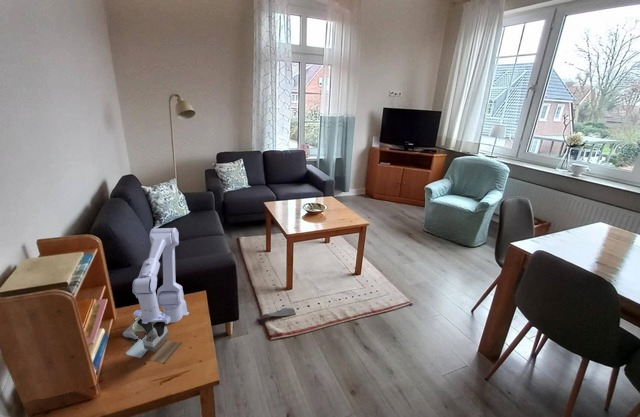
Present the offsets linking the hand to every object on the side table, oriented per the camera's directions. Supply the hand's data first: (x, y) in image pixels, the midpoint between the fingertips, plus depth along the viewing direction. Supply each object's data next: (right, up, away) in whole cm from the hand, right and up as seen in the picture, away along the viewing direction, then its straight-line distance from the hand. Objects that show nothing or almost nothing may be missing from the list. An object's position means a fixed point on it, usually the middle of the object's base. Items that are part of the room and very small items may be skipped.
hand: (155, 333), depth 118 cm
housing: (0, -4, +1) cm, 4 cm away
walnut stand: (+2, -10, +3) cm, 10 cm away
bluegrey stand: (-8, -8, +5) cm, 13 cm away
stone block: (-14, -5, +14) cm, 21 cm away
